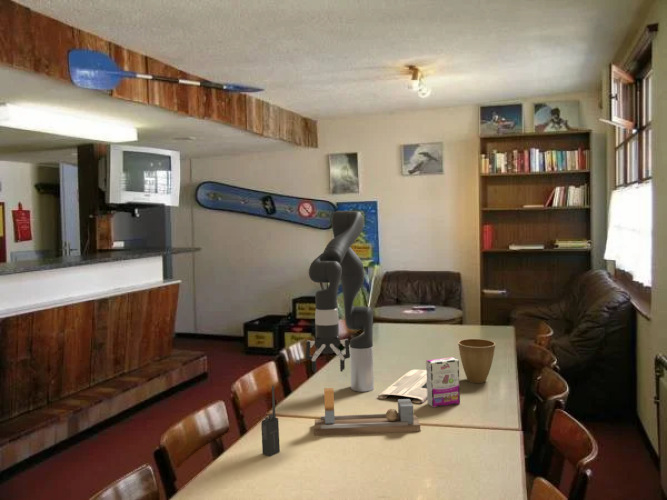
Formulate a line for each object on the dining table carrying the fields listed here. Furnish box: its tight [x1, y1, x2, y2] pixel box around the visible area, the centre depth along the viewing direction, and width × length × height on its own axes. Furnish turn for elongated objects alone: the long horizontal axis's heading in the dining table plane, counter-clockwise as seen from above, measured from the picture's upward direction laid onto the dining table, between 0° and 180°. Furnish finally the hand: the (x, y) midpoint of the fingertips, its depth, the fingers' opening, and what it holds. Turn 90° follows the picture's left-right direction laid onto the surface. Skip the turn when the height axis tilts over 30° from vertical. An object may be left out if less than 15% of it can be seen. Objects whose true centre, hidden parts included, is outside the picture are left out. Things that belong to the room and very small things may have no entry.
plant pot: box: [457, 338, 496, 384], centre depth 238 cm, size 15×15×16 cm
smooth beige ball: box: [385, 408, 398, 421], centre depth 189 cm, size 4×4×4 cm
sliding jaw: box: [323, 387, 335, 425], centre depth 188 cm, size 7×3×11 cm, turn 2°
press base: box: [314, 398, 421, 436], centre depth 189 cm, size 9×34×8 cm, turn 92°
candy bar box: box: [425, 356, 461, 408], centre depth 210 cm, size 11×5×16 cm, turn 105°
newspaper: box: [377, 369, 428, 404], centre depth 232 cm, size 37×19×3 cm, turn 154°
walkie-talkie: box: [260, 385, 281, 457], centre depth 171 cm, size 5×3×20 cm
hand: (328, 371), depth 188 cm, fingers open, 8 cm apart
